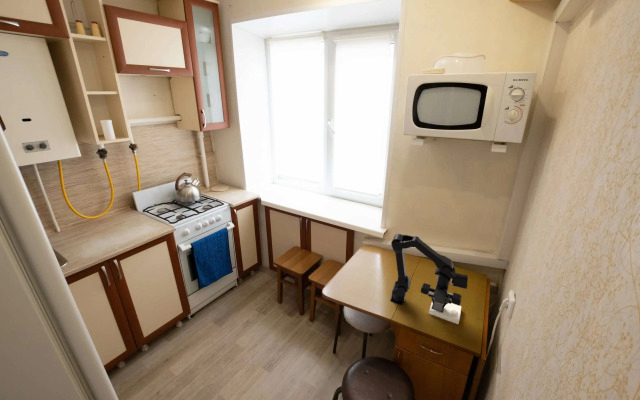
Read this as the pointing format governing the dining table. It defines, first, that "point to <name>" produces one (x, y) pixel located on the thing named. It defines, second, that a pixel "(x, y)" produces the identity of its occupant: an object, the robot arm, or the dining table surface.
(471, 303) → the dining table surface
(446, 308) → the socket plate
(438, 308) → the plug
